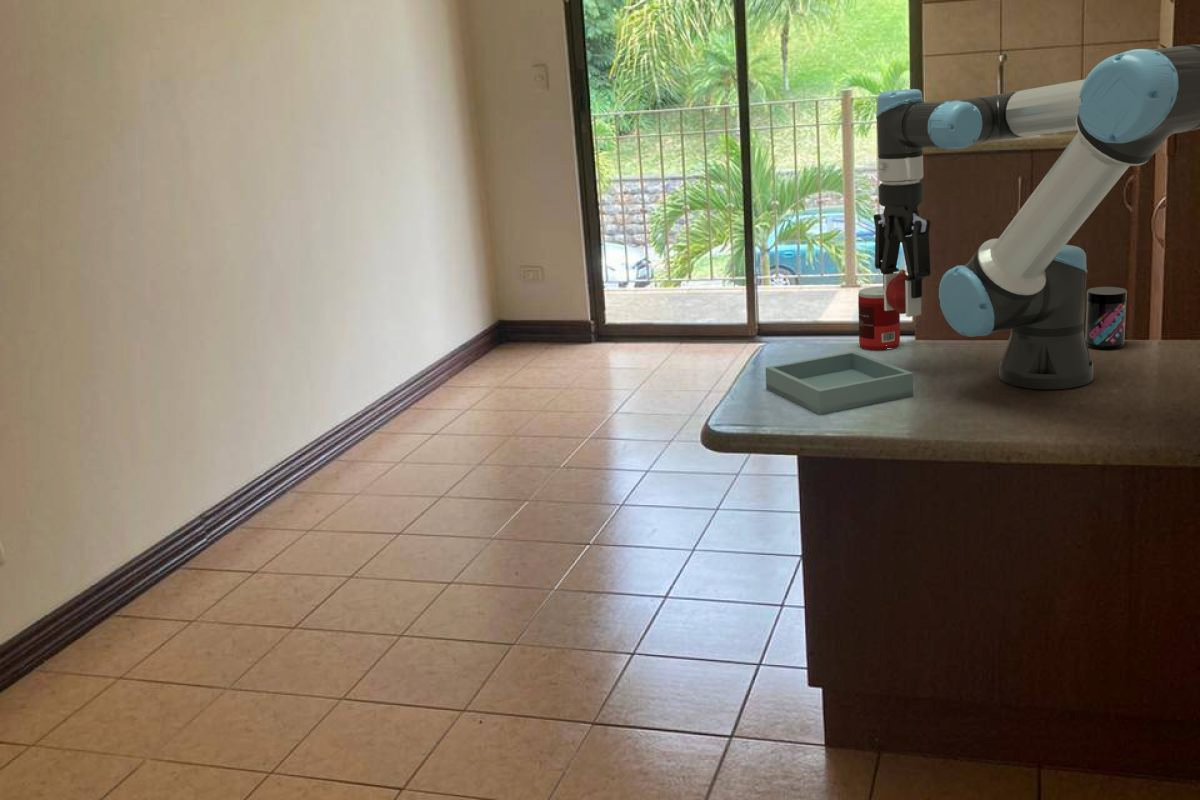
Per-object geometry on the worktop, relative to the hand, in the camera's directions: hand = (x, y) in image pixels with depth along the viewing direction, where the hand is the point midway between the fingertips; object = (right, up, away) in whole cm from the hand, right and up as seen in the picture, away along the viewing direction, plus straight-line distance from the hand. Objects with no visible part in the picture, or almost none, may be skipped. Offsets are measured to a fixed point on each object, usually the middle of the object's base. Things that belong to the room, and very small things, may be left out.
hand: (902, 312), depth 216 cm
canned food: (0, -5, +20) cm, 20 cm away
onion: (0, 0, 0) cm, 1 cm away
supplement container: (+39, -6, +8) cm, 40 cm away
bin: (-13, -14, -8) cm, 21 cm away
